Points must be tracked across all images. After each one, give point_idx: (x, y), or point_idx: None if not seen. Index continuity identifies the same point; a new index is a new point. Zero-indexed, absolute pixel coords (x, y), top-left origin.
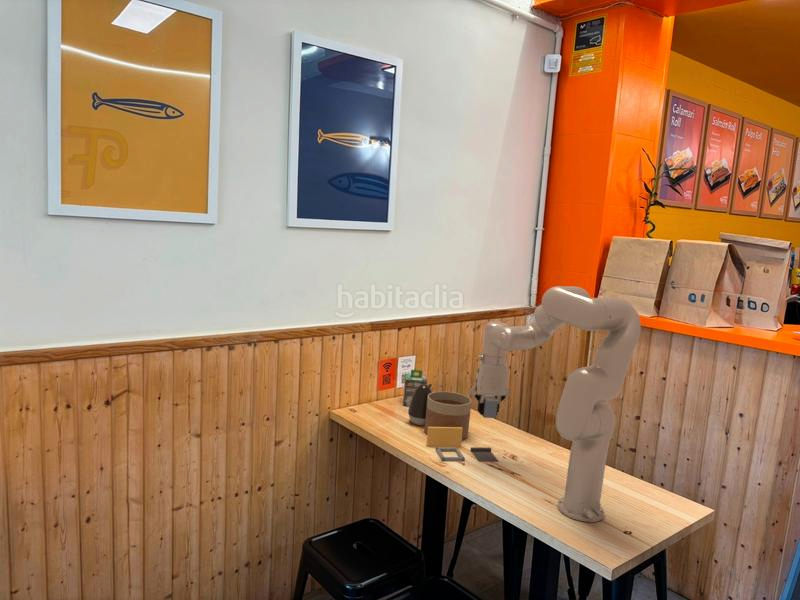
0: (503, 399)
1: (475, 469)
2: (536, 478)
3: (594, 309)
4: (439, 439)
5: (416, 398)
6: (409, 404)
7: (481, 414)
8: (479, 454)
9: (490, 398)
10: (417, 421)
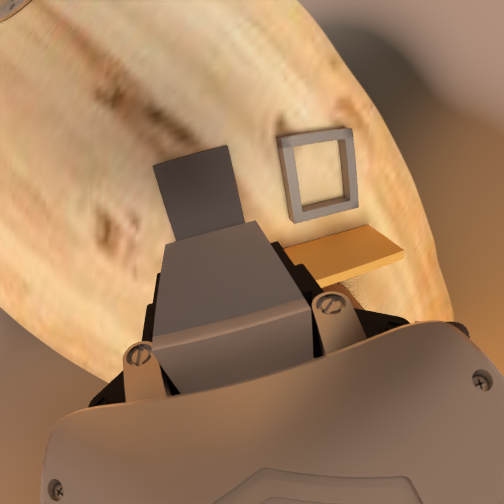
0: (105, 389)
1: (243, 89)
2: (52, 91)
3: None
4: (351, 244)
5: None
6: None
7: (278, 245)
8: (218, 208)
9: (244, 365)
10: None
